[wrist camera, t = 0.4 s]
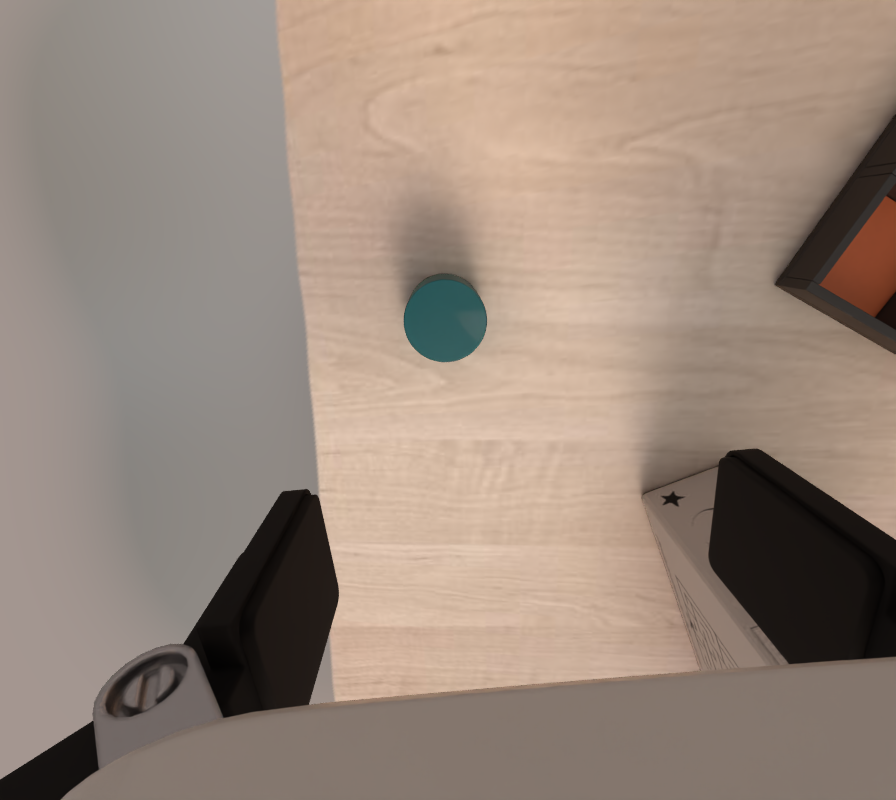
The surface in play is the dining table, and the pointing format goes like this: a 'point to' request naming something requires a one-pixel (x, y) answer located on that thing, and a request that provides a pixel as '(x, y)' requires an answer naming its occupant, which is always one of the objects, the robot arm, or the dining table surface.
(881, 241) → the grid
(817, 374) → the dining table surface
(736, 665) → the cereal box
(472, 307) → the cylinder
